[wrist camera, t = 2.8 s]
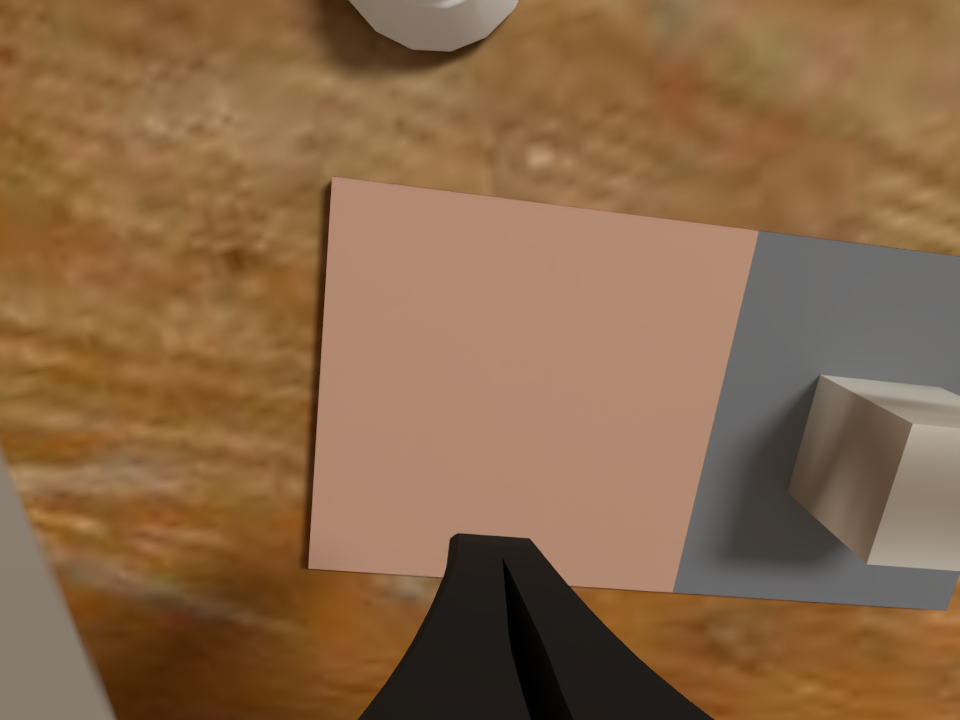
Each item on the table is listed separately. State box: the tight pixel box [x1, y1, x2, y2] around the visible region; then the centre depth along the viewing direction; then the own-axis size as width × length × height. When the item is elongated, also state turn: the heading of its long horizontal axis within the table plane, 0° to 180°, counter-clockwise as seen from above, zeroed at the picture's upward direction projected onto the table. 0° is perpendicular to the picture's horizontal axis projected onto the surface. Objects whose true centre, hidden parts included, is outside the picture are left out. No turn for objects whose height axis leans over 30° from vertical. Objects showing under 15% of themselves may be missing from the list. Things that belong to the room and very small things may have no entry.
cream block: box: [787, 375, 960, 571], centre depth 19 cm, size 4×4×4 cm
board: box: [308, 177, 960, 611], centre depth 20 cm, size 12×22×1 cm, turn 83°
